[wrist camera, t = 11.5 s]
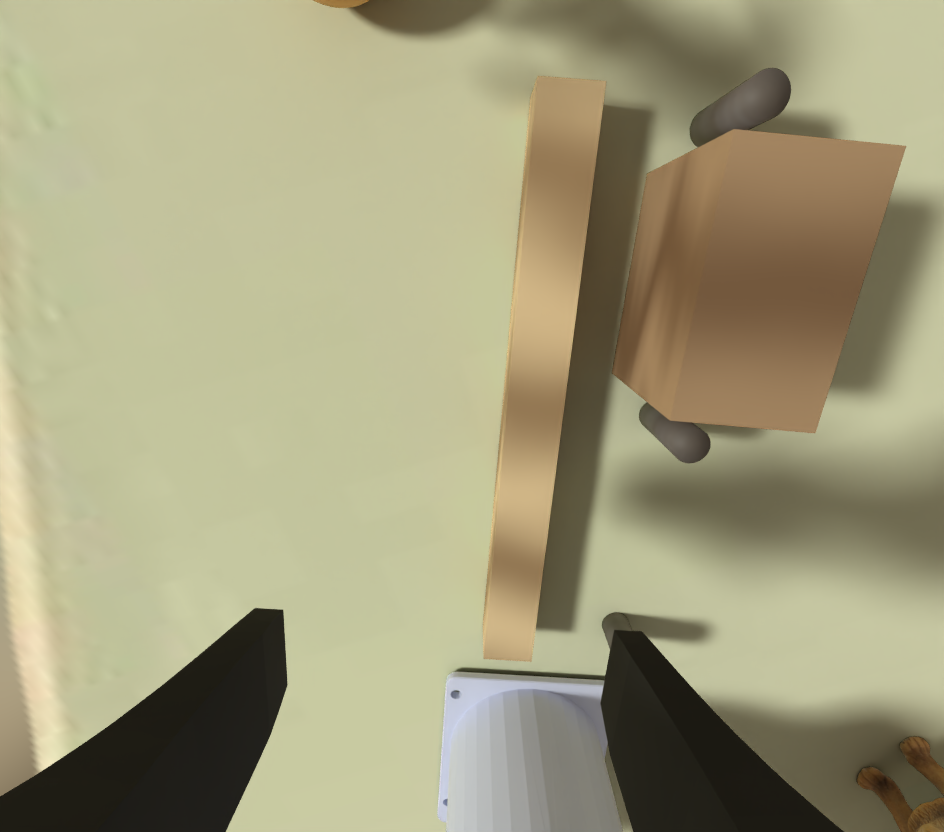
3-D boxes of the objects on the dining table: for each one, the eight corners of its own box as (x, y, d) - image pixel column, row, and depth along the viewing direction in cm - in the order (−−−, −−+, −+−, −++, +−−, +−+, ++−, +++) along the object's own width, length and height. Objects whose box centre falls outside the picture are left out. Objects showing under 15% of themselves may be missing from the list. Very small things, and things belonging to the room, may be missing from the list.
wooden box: (714, 381, 19) (816, 433, 13) (611, 372, 19) (669, 420, 13) (762, 185, 17) (908, 146, 11) (646, 173, 17) (734, 128, 11)
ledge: (626, 635, 22) (652, 700, 19) (482, 626, 22) (484, 690, 19) (729, 109, 16) (795, 69, 13) (530, 94, 16) (545, 50, 13)
